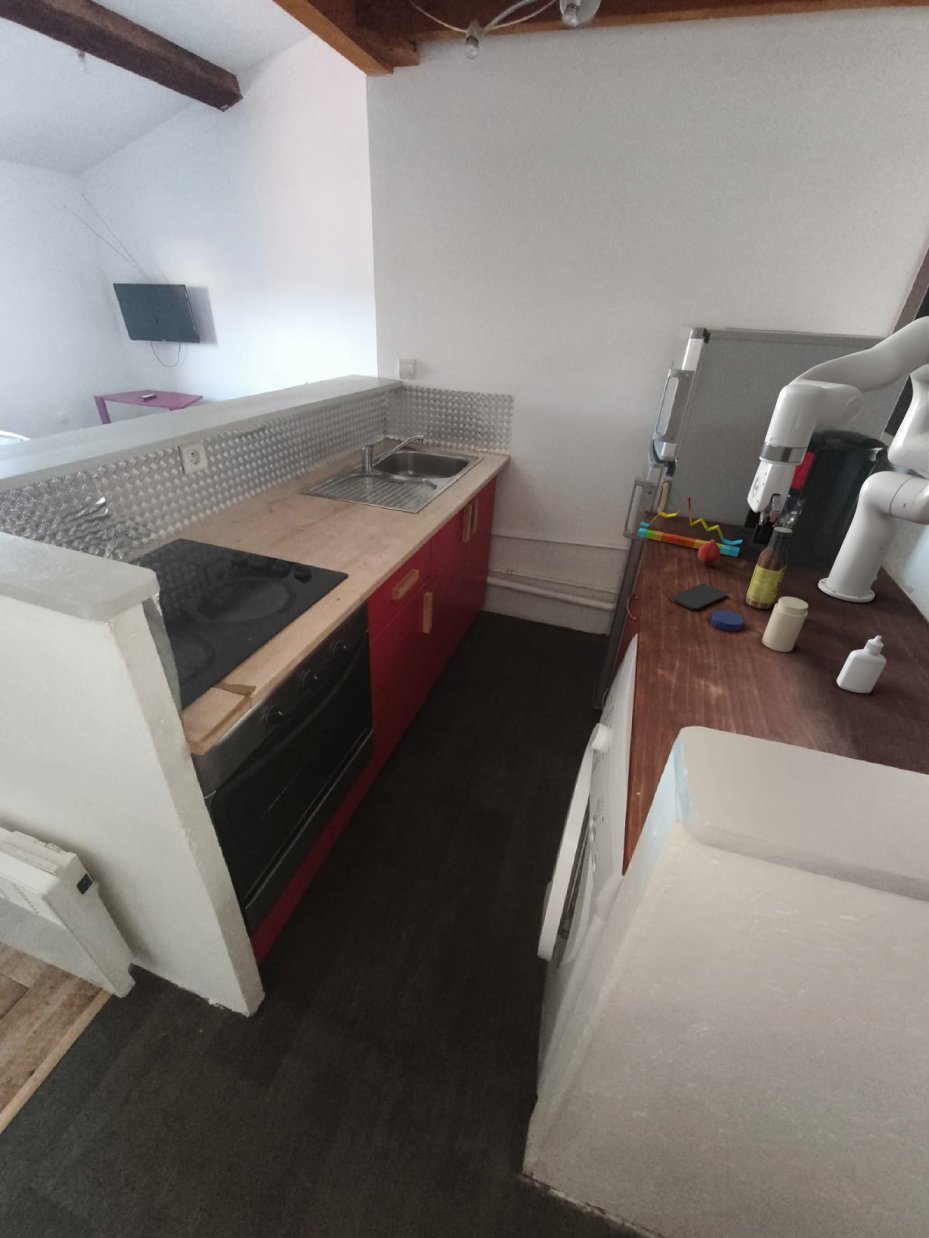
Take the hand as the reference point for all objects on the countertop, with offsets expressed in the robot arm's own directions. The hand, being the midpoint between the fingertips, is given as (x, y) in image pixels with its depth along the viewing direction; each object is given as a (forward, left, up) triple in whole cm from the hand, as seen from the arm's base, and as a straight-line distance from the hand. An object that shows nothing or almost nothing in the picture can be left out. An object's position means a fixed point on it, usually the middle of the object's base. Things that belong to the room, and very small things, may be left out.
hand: (755, 535), depth 109 cm
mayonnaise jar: (-3, +11, -22) cm, 25 cm away
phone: (-5, -12, -22) cm, 26 cm away
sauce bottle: (-16, -3, -22) cm, 28 cm away
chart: (-32, -39, -22) cm, 55 cm away
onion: (-24, -25, -22) cm, 42 cm away
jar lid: (0, 0, -21) cm, 21 cm away
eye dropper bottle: (-2, +28, -22) cm, 36 cm away
